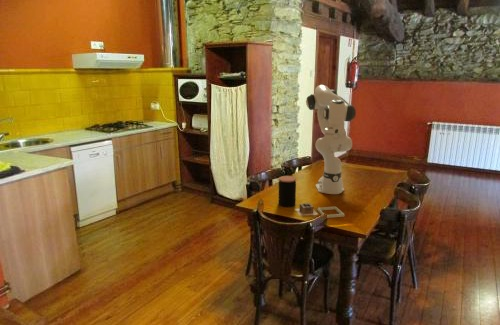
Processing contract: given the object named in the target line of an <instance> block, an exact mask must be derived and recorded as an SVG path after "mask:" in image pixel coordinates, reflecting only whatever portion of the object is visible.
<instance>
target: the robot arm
mask: <svg viewBox="0 0 500 325" xmlns="http://www.w3.org/2000/svg"><path fill="white" fill-rule="evenodd" d="M305 103H306V107H307V108H308V110H310V111H315V110H317V113H316V114H317V120H318V121H317V122H318V124H319V128H320V131H321V133H322V134H323V135H324V136H323V137H318V138H317V139H316V141H315V146H314V147H315V149H316V151H317V152H318V153H320V155H321V156H322V158H323V160H324V162H323V163H324V170H323V173H322V176H321V177H320V178H319V180H318V181H317V183H316V184H315V187H316V190H317V191H318V193H323V194H326V195H327V194H329V195H339V194H342V192H344V191H345V188H344V186H343V182H344V180H343V178H342V161H341V159H340V158H338V157H336V156H335V153H344V152H347V151H350V150H351V149H352V148H353V139H352V138H351V137H350V136H348V135H347V131H346V129H345V122H349V123H350V122H352V121H353V120H354V119H355V117H356V113H357V110H356V108H355V106H354V105H353V104H351V103H349V102H348V101H346V100H345V99H344V98H343V97H341V96H340V95H339V94H338V92H337V91H336V90H335V89H330V88H329V87H328V86H327V85H326V84H325V85H324V84H319V85H317V86H316V87H315V89H314V94H313V93H312V94H310V95H308V96H307V97H306V100H305Z"/></svg>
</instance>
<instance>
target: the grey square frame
mask: <svg viewBox="0 0 500 325" xmlns="http://www.w3.org/2000/svg"><path fill="white" fill-rule="evenodd" d="M316 209H317V210H316V212H317V213H318V214H320V215H321V216H322V214H325V213H324V212H323V211H333V210H335V211H336V213H332V214H331V213H330V214H326V215H327V218H326V219H330V218H341V217H343V218H344V217H345V213H344V212H343V211H342V210H341V209H339V208H338V207H337V206H327V207H326V206H324V207H323V206H322V207H317V208H316Z"/></svg>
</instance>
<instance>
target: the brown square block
mask: <svg viewBox="0 0 500 325" xmlns="http://www.w3.org/2000/svg"><path fill="white" fill-rule="evenodd" d="M305 204H308V206H307V207H305ZM299 208H300V211H301V212H302V214H310V213H313V210H315V209H314V206H313V204H311V203H310V202H305V203H303V202H302V203H299Z"/></svg>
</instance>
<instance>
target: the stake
mask: <svg viewBox="0 0 500 325" xmlns="http://www.w3.org/2000/svg"><path fill="white" fill-rule="evenodd" d="M307 206H308V204H305V207H307ZM294 210H295V211H296V213H297V214H298V215H299V217H305V216H306V217H307V216H317V215H319V214H320V213H319V212H318V211H317V210H315V209H314V210H313V213H310V214H302V212H301V211H300V207H299V208H294Z"/></svg>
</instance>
